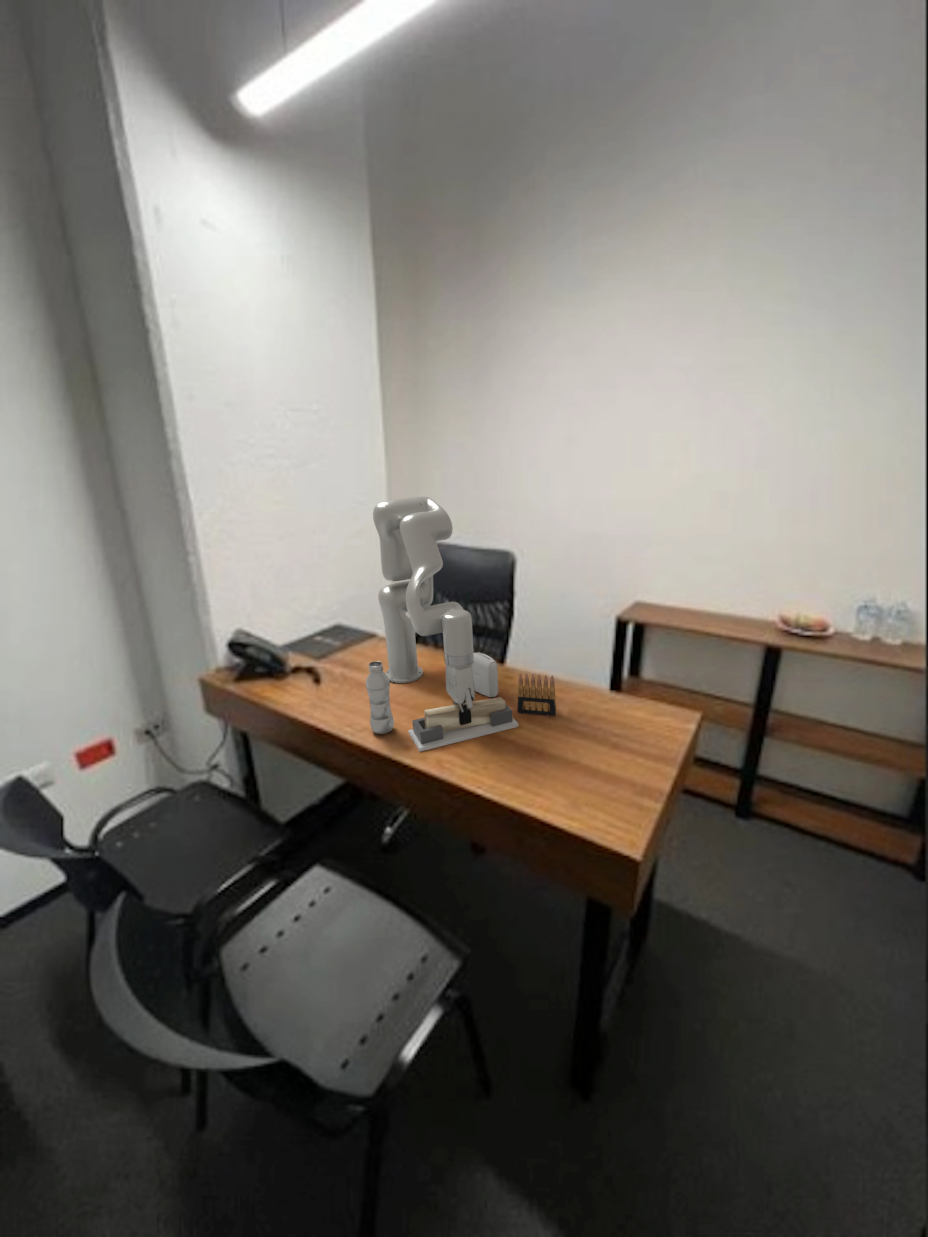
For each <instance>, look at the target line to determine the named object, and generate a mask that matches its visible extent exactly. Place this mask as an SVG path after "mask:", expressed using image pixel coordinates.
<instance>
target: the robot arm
mask: <svg viewBox="0 0 928 1237" xmlns="http://www.w3.org/2000/svg"><path fill="white" fill-rule="evenodd" d="M372 519H373V522H374V527H375V529H376V531H377V534H378V537H379V548H380V549H379V550H380V565H381V573H382V575H383V578H384V579H385V580H386V581H388V582H395V583H391V584H386V585H385V586H383V587H381V588H380V590H379V592H378V597H377V598H378V603H379V606H380V611H381V613H382V618H383V626H384V633H385V642H386V643H385V645H386V651H387V654H386V655H387V663H388V664H387V665H388V669H387V670H386V671H385V672H384V673H385V674H386V675H387V676H388V678H389V681H391V682H390V683H393V682H395V684H407V682H408V683H412V682H415V681H417V680H420V678H422V677H423V676H424V675H423V674H424V670H423V668H422V667H421V666H419V664H418V652H417V642H416V641H417V640H416V634H418V635H419V636H421V637H428V636H432V635H433V636H434V635H438V634H442V639H443V641H442V643H443V650H444V651H443V652H444V654H443V655H444V665H445V689H446V693H447V694H448V695H449V696H450V697H451V699H452V702H453V705H457V704H460V711H459V721H460V725H465V724H469V723H471V722H472V721H471V708H473V704H472V702H475V701H476V700H475V699H476V691H475V686H474V677H473V670H472V665H473V663H474V653H475V652H474V637H473V618H472V614H471V612H469V611H468V610H465V609H464V608H463V606H462V605H461V604H460V603H458V602H456V601H447V602H443V603H437V604H433V605H432V603H433V601H434V575H436V573H438V572H439V571H441V569H442V568H443V565H444V561H443V559H442V555H441V552H440V550H439V546H438V542H439V541H445V540H449V539H450V538H451V537H452V535H453V531H454V530H453V523H452V521H451V517H450V515H449V514H448V512H447V511H446V510H445V509H444V508H443V507H442V506H441V505H440V504H438V503H437V502H436V501H435V500H434V499H432V498H431V497H428V496H415V497H414V496H413V497H407V498H396V499H389V500H383V501H380V502H378V503H377V504H375V506H374V508H373V512H372ZM405 580H406V581H405ZM406 613H408V615H409V616H408V615H407V614H406ZM463 703H466V705H464V706H463Z"/></svg>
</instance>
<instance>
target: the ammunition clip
mask: <svg viewBox="0 0 928 1237" xmlns="http://www.w3.org/2000/svg"><path fill="white" fill-rule="evenodd" d="M535 678H536V677H535V674H534V673H533V674H532V675H531V677H530V680H529V675H528V673H526V674H525V676H524V679H523V675H522V673H520V672H519V675H518V682H517V713H518V714H528V715H537V716H547V715H549V717H556V714H557V708H556V706H557V705H556V688H555V678H554V675H551V677H550V679H549V680H548V676H547V674H545V675H544V677H543V684H542V678H541V675H540V674H538V675H537V681H536V679H535Z"/></svg>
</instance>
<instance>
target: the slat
mask: <svg viewBox="0 0 928 1237" xmlns="http://www.w3.org/2000/svg"><path fill="white" fill-rule="evenodd" d="M472 704H473V708H471V721H472V722H471V723H469V724H465V725H460V721H459V711H460V704H457V705H454V704H452V705H447V706H440V707H435V708H434V707H433V708H429V709H424V717H425V729H427V728H431V727H435V726H439V725H441V726H442V728H443V731H447V730H453V729H458V728H464V727H469V726H475V725H480V724H485V723H490V713H493V712H497V711H501V710H505V704H506V700H505V699H504V698H502V697H501V696H498V697H492V698H489V699H487V698H486V699H482V700H474V701H472ZM464 705H466V703H463V706H464Z"/></svg>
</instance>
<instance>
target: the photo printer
mask: <svg viewBox="0 0 928 1237" xmlns="http://www.w3.org/2000/svg"><path fill="white" fill-rule="evenodd" d="M473 653H474V663H473V665H472V670H473V677H474V686H475V693H476V692H477V693H479V694H481V695H483V696H485V697H488V698H496V697H497V696H498V694H499V680H498V678H499V677H498V676H499V674H498V664H497V661H496V660H495V659H494V658H493V657H491V656H489V655H487V654H485V653H482V652H473Z"/></svg>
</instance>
